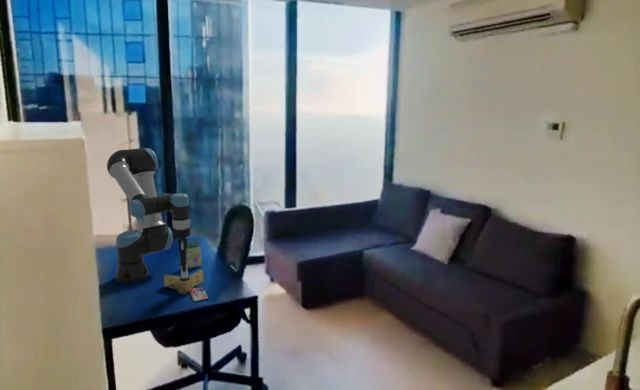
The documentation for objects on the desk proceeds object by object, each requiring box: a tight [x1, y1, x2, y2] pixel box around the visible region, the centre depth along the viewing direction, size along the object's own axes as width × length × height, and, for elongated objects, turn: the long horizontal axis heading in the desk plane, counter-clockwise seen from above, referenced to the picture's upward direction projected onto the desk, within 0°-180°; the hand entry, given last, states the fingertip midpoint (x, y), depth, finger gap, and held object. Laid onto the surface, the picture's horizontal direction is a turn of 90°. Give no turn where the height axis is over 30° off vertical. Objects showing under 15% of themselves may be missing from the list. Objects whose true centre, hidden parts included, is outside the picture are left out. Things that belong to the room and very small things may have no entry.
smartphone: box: [188, 285, 211, 303], centre depth 209 cm, size 8×1×15 cm
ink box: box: [186, 240, 203, 269], centre depth 240 cm, size 7×4×13 cm, turn 120°
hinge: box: [163, 269, 204, 295], centre depth 217 cm, size 15×16×6 cm
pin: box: [179, 255, 189, 281], centre depth 210 cm, size 3×3×15 cm
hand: (184, 275), depth 210 cm, fingers closed on pin, 2 cm apart
